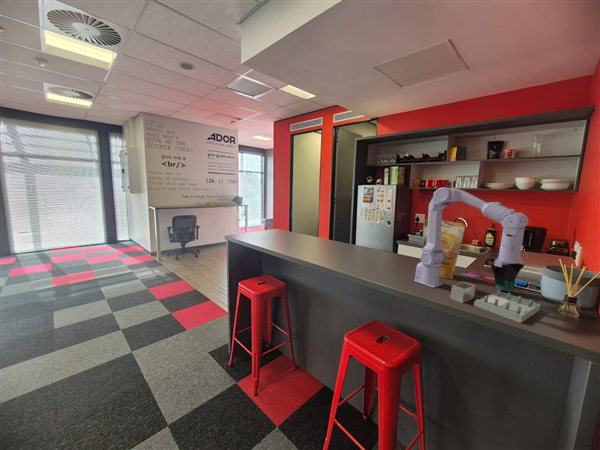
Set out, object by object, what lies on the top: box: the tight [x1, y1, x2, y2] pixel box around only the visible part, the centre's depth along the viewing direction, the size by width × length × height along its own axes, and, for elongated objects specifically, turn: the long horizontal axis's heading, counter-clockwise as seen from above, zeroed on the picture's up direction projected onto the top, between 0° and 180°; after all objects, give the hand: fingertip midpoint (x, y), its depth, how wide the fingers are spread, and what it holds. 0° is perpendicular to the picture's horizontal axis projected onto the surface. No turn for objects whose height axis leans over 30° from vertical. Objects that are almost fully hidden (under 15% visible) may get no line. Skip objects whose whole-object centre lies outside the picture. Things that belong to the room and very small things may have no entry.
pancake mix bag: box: [421, 218, 466, 280], centre depth 126 cm, size 7×19×28 cm, turn 38°
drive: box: [449, 281, 477, 304], centre depth 100 cm, size 5×9×6 cm, turn 122°
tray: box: [473, 289, 542, 324], centre depth 93 cm, size 14×18×4 cm
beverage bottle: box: [495, 280, 516, 292], centre depth 107 cm, size 6×7×20 cm
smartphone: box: [462, 270, 496, 285], centre depth 125 cm, size 7×1×15 cm
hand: (504, 283), depth 90 cm, fingers open, 7 cm apart
